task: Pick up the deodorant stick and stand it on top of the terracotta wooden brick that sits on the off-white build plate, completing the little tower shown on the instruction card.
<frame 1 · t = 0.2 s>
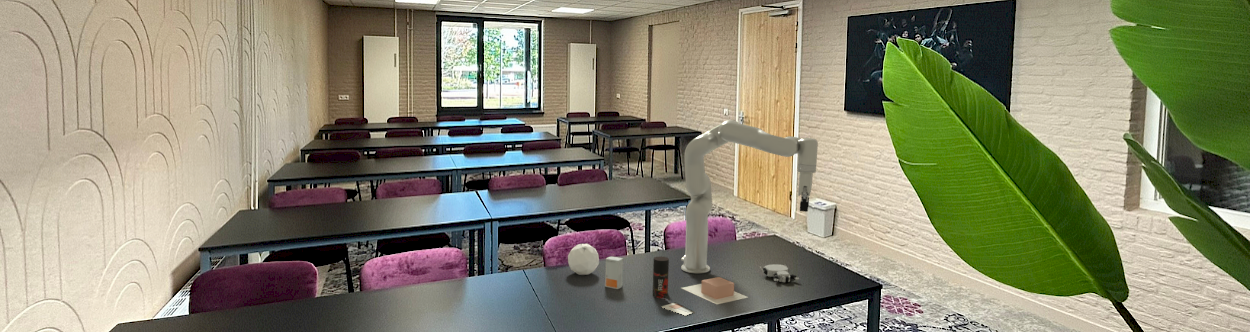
hand: (804, 208, 302), 31 cm above the table, tool pointing down, fingers open, 9 cm apart
geodesic sphere: (583, 274, 310), on the table
instruction card: (681, 309, 270), on the table
build plate: (713, 294, 287), on the table
skincare box: (613, 287, 294), on the table
robot toy: (779, 279, 309), on the table
brick: (717, 294, 285), point 1 cm above the table, touching build plate
deodorant: (660, 296, 284), on the table
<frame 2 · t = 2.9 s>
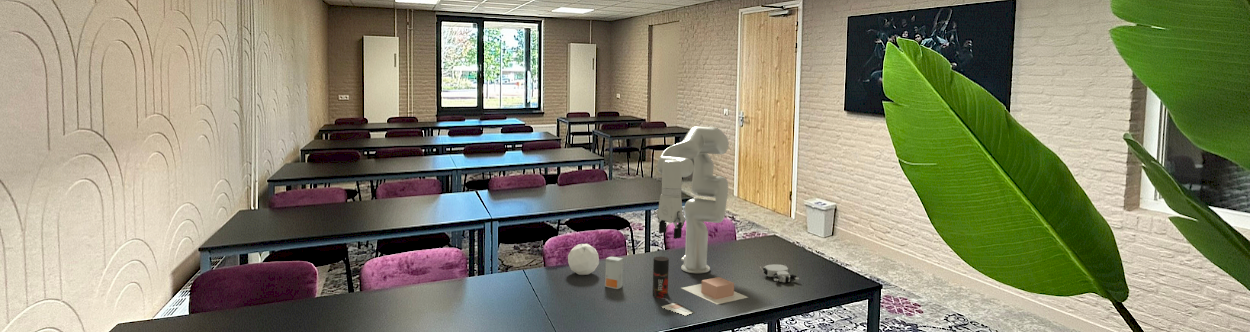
hand: (669, 235, 281), 24 cm above the table, tool pointing down, fingers open, 9 cm apart
nothing on the table moved.
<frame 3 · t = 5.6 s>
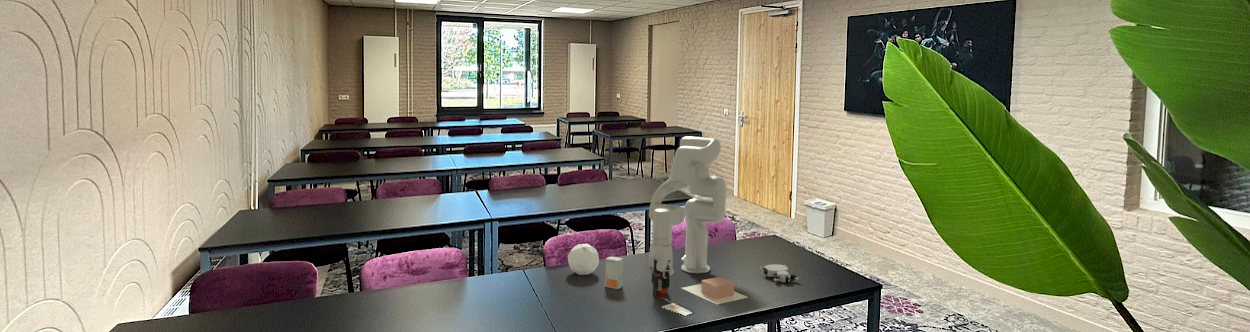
hand: (660, 284, 284), 4 cm above the table, tool pointing down, fingers closed on deodorant, 5 cm apart
deodorant: (660, 296, 284), on the table, touching gripper
everything else where it was.
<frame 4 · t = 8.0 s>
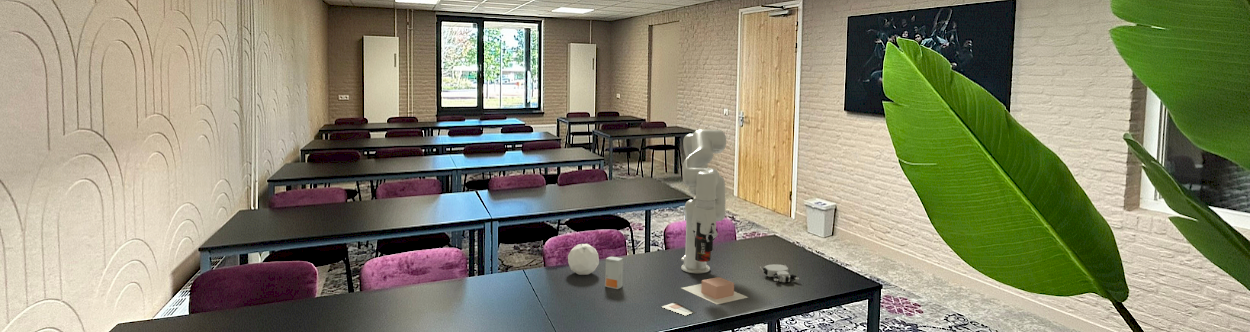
hand: (703, 248, 282), 19 cm above the table, tool pointing down, fingers closed on deodorant, 5 cm apart
deodorant: (702, 260, 283), point 15 cm above the table, touching gripper
everything else where it was.
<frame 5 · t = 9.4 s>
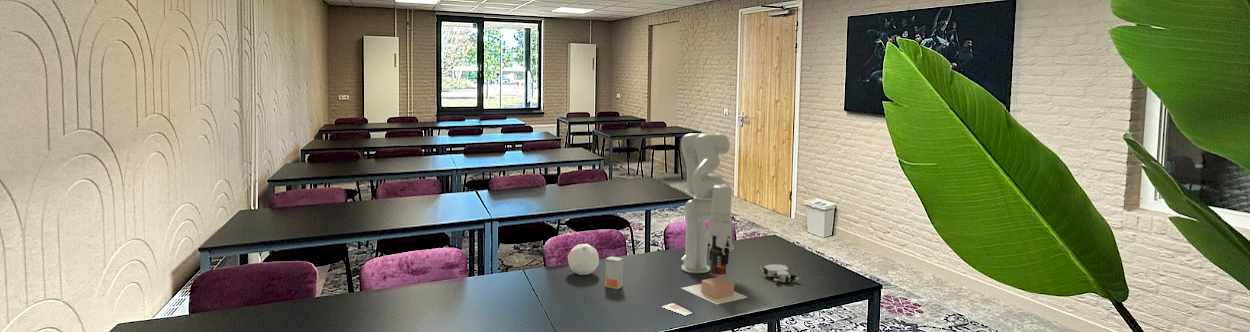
hand: (718, 261, 283), 14 cm above the table, tool pointing down, fingers closed on deodorant, 5 cm apart
deodorant: (718, 273, 283), point 10 cm above the table, touching gripper
everything else where it was.
when the fingers open (12 cm above the table, at t = 10.3 s): deodorant drops 1 cm, resting on brick.
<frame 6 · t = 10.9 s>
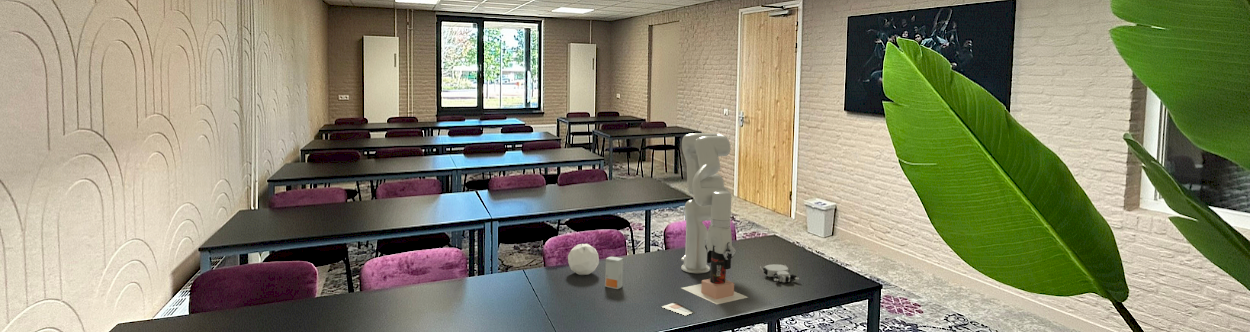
hand: (718, 265, 283), 13 cm above the table, tool pointing down, fingers open, 9 cm apart
brick: (717, 294, 285), point 1 cm above the table, touching build plate, deodorant
deodorant: (717, 282, 284), point 6 cm above the table, touching brick
everything else where it was.
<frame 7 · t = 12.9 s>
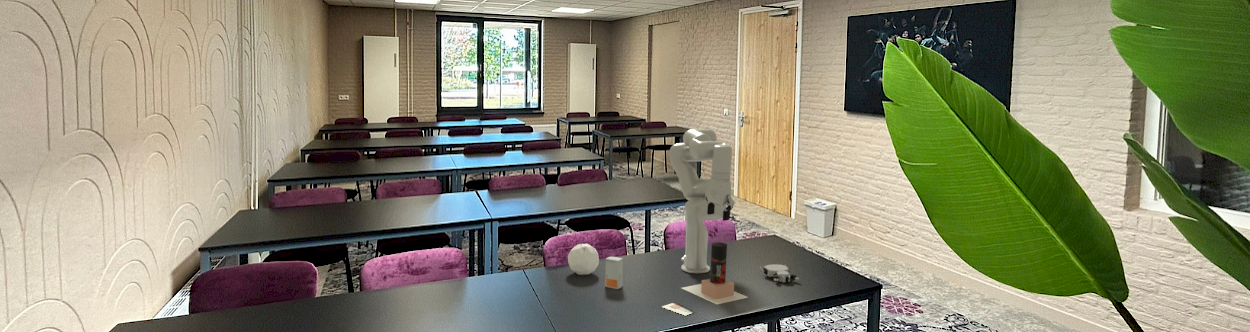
hand: (718, 217, 293), 29 cm above the table, tool pointing down, fingers open, 9 cm apart
nothing on the table moved.
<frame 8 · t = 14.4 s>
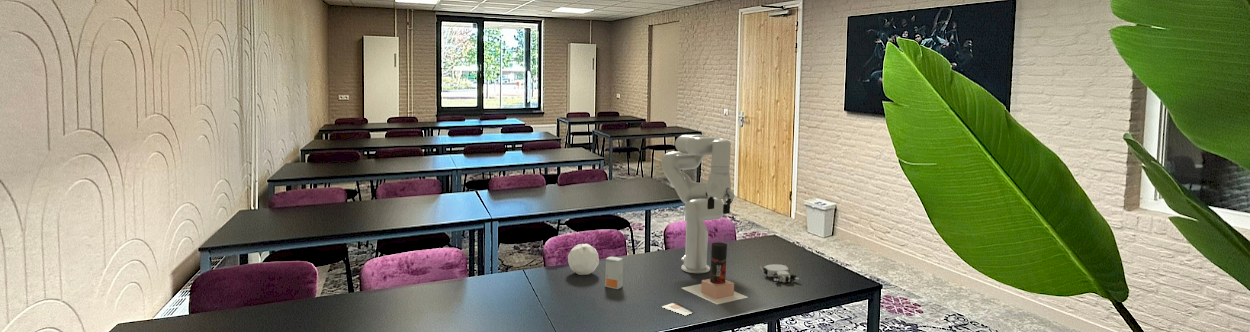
hand: (718, 211, 298), 30 cm above the table, tool pointing down, fingers open, 9 cm apart
nothing on the table moved.
at the end: deodorant 0.2 cm from the brick (horizontally); deodorant point 5.8 cm above the table; deodorant tilted 0° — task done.
